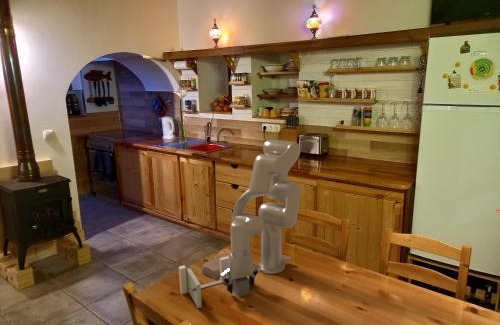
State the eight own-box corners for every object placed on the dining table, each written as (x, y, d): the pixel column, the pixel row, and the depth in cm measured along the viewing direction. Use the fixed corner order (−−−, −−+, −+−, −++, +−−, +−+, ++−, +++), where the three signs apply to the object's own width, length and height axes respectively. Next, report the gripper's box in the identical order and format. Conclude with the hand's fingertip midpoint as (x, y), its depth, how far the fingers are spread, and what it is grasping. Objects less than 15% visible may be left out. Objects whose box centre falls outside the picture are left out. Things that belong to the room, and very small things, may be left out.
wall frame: (238, 275, 162) (237, 252, 160) (240, 278, 160) (239, 254, 158) (180, 291, 151) (178, 266, 149) (181, 294, 149) (180, 269, 146)
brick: (215, 279, 160) (214, 270, 159) (201, 274, 165) (200, 264, 164) (237, 264, 173) (237, 255, 172) (224, 259, 178) (224, 251, 177)
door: (201, 307, 140) (200, 283, 137) (194, 309, 138) (193, 285, 136) (190, 287, 153) (189, 266, 150) (184, 289, 152) (182, 267, 149)
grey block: (244, 287, 153) (244, 273, 152) (249, 293, 149) (249, 279, 147) (233, 290, 151) (233, 276, 150) (238, 297, 147) (237, 282, 145)
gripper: (255, 242, 153) (255, 279, 156) (216, 251, 145) (218, 289, 149) (263, 250, 146) (263, 288, 150) (223, 259, 139) (224, 299, 142)
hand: (240, 288), depth 149 cm, fingers open, 9 cm apart
